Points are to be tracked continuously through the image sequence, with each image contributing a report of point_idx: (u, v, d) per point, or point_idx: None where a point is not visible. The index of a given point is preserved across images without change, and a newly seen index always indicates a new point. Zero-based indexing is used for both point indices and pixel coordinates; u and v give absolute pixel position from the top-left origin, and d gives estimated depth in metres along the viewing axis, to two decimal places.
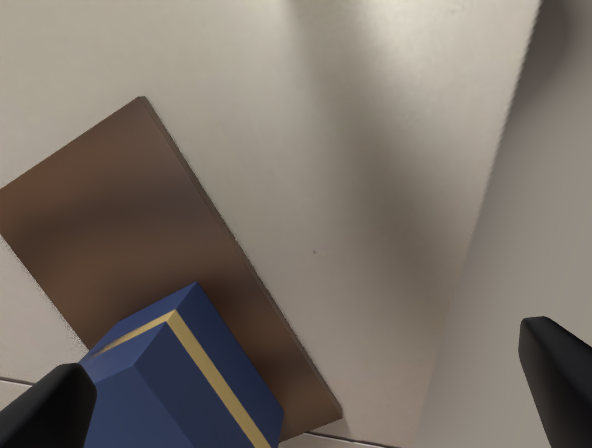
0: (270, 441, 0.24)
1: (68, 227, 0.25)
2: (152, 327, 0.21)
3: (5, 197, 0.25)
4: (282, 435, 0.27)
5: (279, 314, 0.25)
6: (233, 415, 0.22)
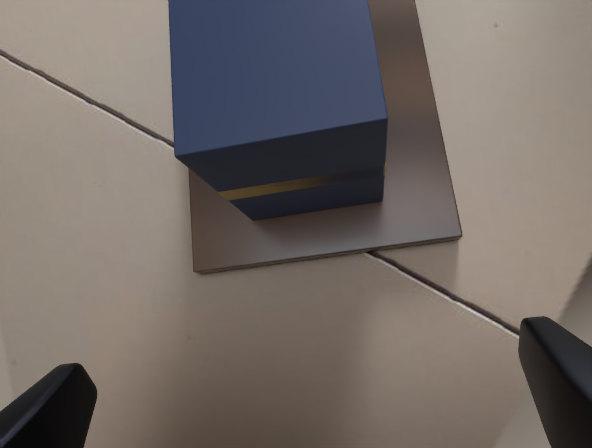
0: None
1: None
2: None
3: None
4: (363, 239, 0.19)
5: (428, 76, 0.20)
6: None
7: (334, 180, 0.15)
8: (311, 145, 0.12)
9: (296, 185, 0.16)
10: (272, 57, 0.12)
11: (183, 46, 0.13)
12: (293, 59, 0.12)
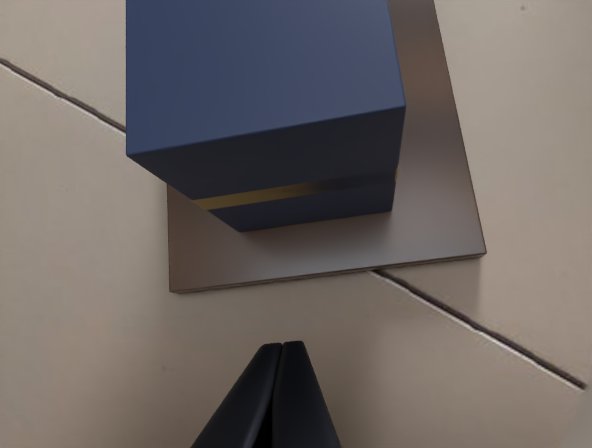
0: None
1: None
2: None
3: None
4: (368, 256, 0.16)
5: (445, 66, 0.17)
6: None
7: (334, 186, 0.13)
8: (304, 141, 0.09)
9: (288, 192, 0.13)
10: (254, 27, 0.09)
11: (142, 15, 0.10)
12: (282, 30, 0.09)
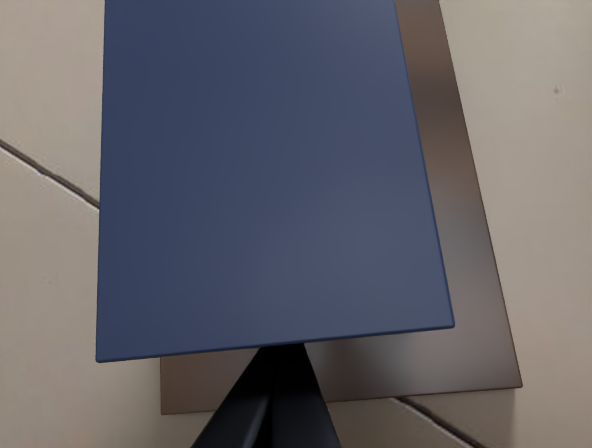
0: None
1: None
2: None
3: None
4: (387, 383, 0.14)
5: (471, 158, 0.16)
6: None
7: None
8: None
9: None
10: (257, 198, 0.08)
11: (120, 170, 0.08)
12: (293, 205, 0.07)
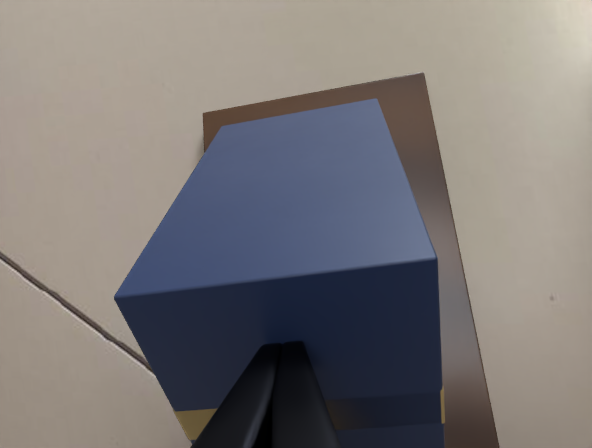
0: None
1: None
2: None
3: (234, 115, 0.23)
4: None
5: (480, 360, 0.19)
6: None
7: (360, 418, 0.10)
8: (318, 306, 0.08)
9: None
10: (282, 209, 0.10)
11: (185, 205, 0.11)
12: (309, 209, 0.10)
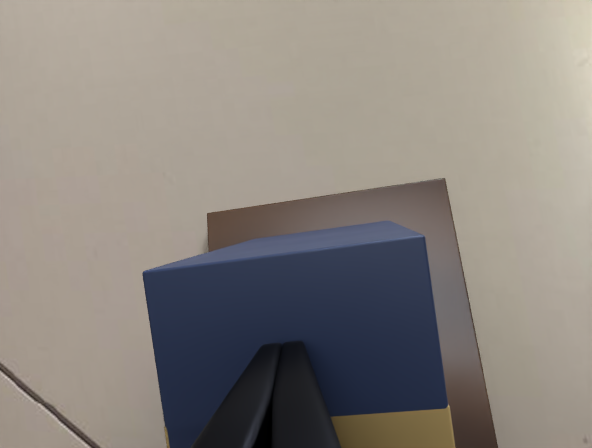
0: None
1: None
2: None
3: (241, 217, 0.22)
4: None
5: None
6: None
7: None
8: (320, 286, 0.09)
9: None
10: (297, 243, 0.11)
11: (214, 252, 0.13)
12: (320, 241, 0.11)
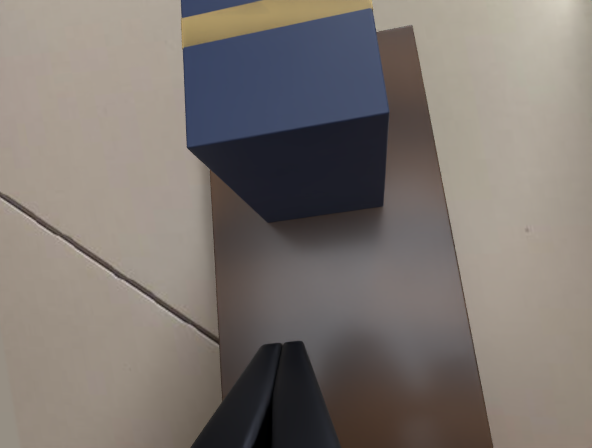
0: None
1: None
2: None
3: None
4: None
5: (460, 285, 0.20)
6: None
7: (310, 9, 0.13)
8: None
9: (266, 16, 0.13)
10: None
11: None
12: None
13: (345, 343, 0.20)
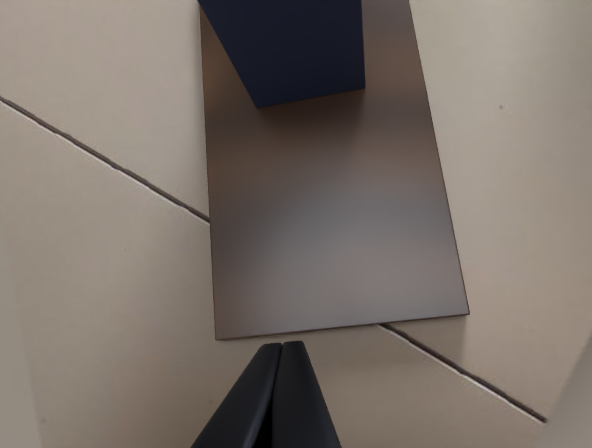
0: None
1: None
2: None
3: None
4: (376, 314, 0.20)
5: (438, 156, 0.22)
6: None
7: None
8: None
9: None
10: None
11: None
12: None
13: (328, 211, 0.21)
